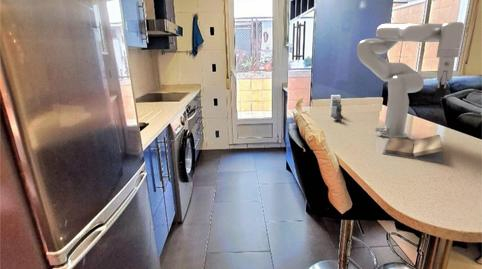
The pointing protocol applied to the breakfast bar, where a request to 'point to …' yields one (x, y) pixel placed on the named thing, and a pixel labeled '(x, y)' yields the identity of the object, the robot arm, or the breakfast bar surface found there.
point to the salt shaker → (338, 114)
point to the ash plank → (427, 145)
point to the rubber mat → (422, 156)
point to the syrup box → (334, 104)
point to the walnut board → (400, 147)
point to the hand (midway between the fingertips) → (439, 97)
